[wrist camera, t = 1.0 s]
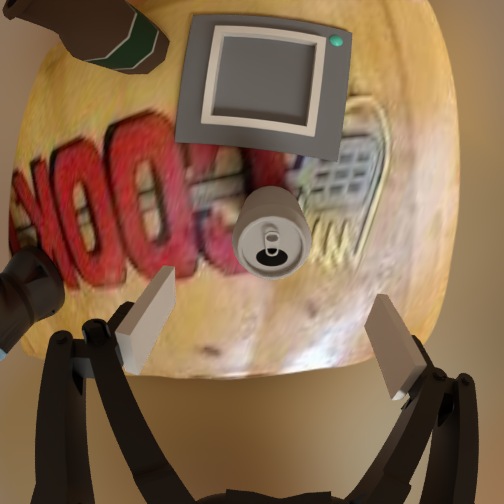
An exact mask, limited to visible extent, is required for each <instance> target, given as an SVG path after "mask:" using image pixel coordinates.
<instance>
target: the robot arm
mask: <svg viewBox="0 0 504 504" xmlns="http://www.w3.org/2000/svg"><path fill="white" fill-rule="evenodd" d="M64 300H65V292H64V287H63V283H62V280H61V277H60V275H59V273H58V271H57V269H56V267H55V266H54V264H53V263H52V261H51V260H50V259H49V258H48V256H47V255H46V254H45V253H44V252H43V251H41V250H40V249H39V248H37V247H35V246H31V245H27V246H24V247H22V248H21V249H19V250H18V251H17V252H16V253H15V254H14V255H13V257H12V258H11V260H10V261H9V263H8V264H7V266H6V267H5V269H4V270H3V272H2V273H0V361H1V360H2V359H3V358H4V357H6V356H7V353H8V352H9V351H10V350H11V349H12V347H13V346H14V345H15V344H16V343H17V342H18V341H19V339H20V338H21V337H22V336H23V335H24V334H25V333H26V332H27V331H28V329H29V328H30V327H31V326H32V325H33V324H34V323H36V322H38V321H40V320H43V319H45V318H47V317H50V316H52V315H54V314H55V313H57V311H58V310H59V309H60V308H61V307H62V306H63V304H64ZM175 303H176V299H175V267H171V266H165V265H163V267H162V268H161V269H160V270H159V272H158V273H157V274H156V276H155V277H154V278H153V280H152V281H151V282H150V284H149V285H148V286H147V288H146V289H145V290H144V292H143V293H142V294H141V296H140V297H139V298H138V300H137V301H136V303H133V302H129V301H127V302H125V303H124V304H122V305H120V307H119V308H118V309H117V310H116V312H115V313H114V314H113V316H112V317H111V318H110V320H109V321H108V322H107V323H106V321H104V320H102V319H98V318H97V319H91V320H88V321H87V322H85V323H84V324H83V326H82V333H83V336H84V339H73V336H72V334H71V333H70V332H68V331H65V330H61V331H57V332H55V333H54V334H53V335H52V336H51V338H50V340H49V344H48V349H47V353H46V358H45V363H44V368H43V374H42V380H41V386H40V394H39V401H38V410H37V421H36V438H35V473H36V485H35V488H34V492H33V495H32V499H31V503H30V504H95V500H94V493H93V487H92V480H91V474H90V466H89V456H88V445H87V430H86V378H95V380H96V384H97V387H98V390H99V394H100V397H101V400H102V403H103V406H104V409H105V411H106V414H107V417H108V419H109V422H110V425H111V427H112V430H113V432H114V435H115V437H116V440H117V442H118V444H119V447H120V449H121V451H122V453H123V455H124V458H125V460H126V462H127V464H128V466H129V468H130V470H131V472H132V474H133V478H134V481H135V483H136V485H137V487H138V489H139V490H140V492H141V494H142V496H143V497H144V499H145V501H146V502H147V504H403V503H404V501H405V500H406V498H407V496H408V494H409V492H410V490H411V485H410V484H409V482H410V480H411V478H412V476H413V474H414V471H415V469H416V467H417V465H418V463H419V461H420V459H421V456H422V454H423V452H424V450H425V447H426V445H427V442H428V440H429V437H430V435H431V432H432V440H431V448H430V454H429V461H428V467H427V472H426V477H425V482H424V486H423V491H422V495H421V499H420V502H419V504H475V503H474V501H475V493H476V485H477V473H478V454H479V434H478V433H479V432H478V412H477V400H476V391H475V383H474V380H473V379H472V377H471V376H470V375H468V374H466V373H461V374H459V376H458V377H457V378H456V379H453V378H448V377H447V375H446V373H445V372H444V371H443V370H442V369H440V368H436V367H434V365H433V363H432V361H431V360H430V358H429V356H428V354H427V353H426V351H425V349H424V348H423V345H422V343H421V342H420V340H419V339H418V338H417V337H416V336H415V335H411V334H410V332H409V331H408V329H407V327H406V325H405V324H404V322H403V320H402V319H401V317H400V315H399V313H398V312H397V310H396V308H395V307H394V305H393V303H392V302H391V300H390V299H389V297H388V295H385V294H377V296H376V299H375V301H374V304H373V307H372V309H371V312H370V314H369V316H368V319H367V321H366V324H365V326H364V327H365V330H366V332H367V334H368V337H369V340H370V342H371V345H372V347H373V350H374V352H375V355H376V358H377V360H378V363H379V366H380V369H381V371H382V374H383V377H384V379H385V382H386V385H387V388H388V391H389V394H390V397H391V400H399V399H403V398H404V397H405V395H406V394H407V393H409V396H410V398H409V399H408V400H407V402H406V403H405V404H404V405H403V407H402V408H401V409H403V410H402V412H401V414H400V416H399V418H398V420H397V422H396V424H395V426H394V428H393V429H392V431H391V433H390V435H389V437H388V438H387V440H386V442H385V443H384V445H383V447H382V449H381V450H380V452H379V453H378V455H377V457H376V458H375V460H374V461H373V463H372V465H371V466H370V467H369V469H368V470H367V472H366V473H365V475H364V476H363V478H362V479H361V480H360V482H359V483H358V485H357V486H356V487H355V489H354V490H353V491H352V492H351V493H350V494H349V495H348V496H347V497H346V498H345V499H344V500H343V499H340V498H337V497H333V496H331V491H329V492H316V493H304V494H300V495H296V496H292V497H288V498H283V499H279V498H274V497H270V496H266V495H263V494H259V493H255V492H249V491H238V490H230V489H227V490H226V493H220V494H214V495H210V496H207V497H204V498H201V499H199V500H198V501H195V500H194V498H193V497H192V496H191V494H190V493H189V492H188V490H187V489H186V487H185V486H184V484H183V483H182V481H181V480H180V478H179V477H178V475H177V474H176V472H175V471H174V469H173V468H172V466H171V465H170V464H169V462H168V461H167V459H166V458H165V456H164V454H163V453H162V451H161V449H160V448H159V446H158V444H157V442H156V440H155V438H154V437H153V435H152V433H151V431H150V429H149V427H148V425H147V423H146V421H145V419H144V417H143V415H142V413H141V411H140V409H139V407H138V405H137V402H136V400H135V398H134V396H133V394H132V391H131V389H130V387H129V384H128V382H127V379H126V377H125V375H124V372H123V370H122V366H123V364H124V368H125V371H126V372H129V373H132V374H136V375H139V374H140V372H141V370H142V368H143V366H144V364H145V362H146V360H147V358H148V356H149V354H150V352H151V350H152V348H153V346H154V344H155V342H156V340H157V338H158V336H159V334H160V332H161V330H162V328H163V326H164V324H165V322H166V321H167V319H168V317H169V315H170V313H171V311H172V309H173V307H174V305H175ZM432 429H433V431H432Z"/></svg>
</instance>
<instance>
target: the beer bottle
mask: <svg viewBox="0 0 504 504" xmlns="http://www.w3.org/2000/svg"><path fill="white" fill-rule="evenodd" d="M3 13H4V16H5V17H7V18H8V19H9V20H11V19H13V18H15V17H17V18H20V19H23V20H26V21H29V22H32V23H34V24H37V25H40V26H43V27H45V28H47V29H50V30H52V31H54V32H56V33H57V34H59V37H60V39H61V40H62V42H63V44H64V46H65V47H66V49H67V50H68V51H69V52H70V54H71V55H72V56H73V57H75V58H77V59H80V60H82V61H86V62H89V63H93V64H96V65H99V66H103V67H106V68H109V69H112V70H115V71H118V72H121V73H125V74H148V73H149V72H151V71H152V70H153V69H154V68H155V67H157V66H158V65H159V64H160V63H162V62H163V61H164V60H165V57H166V53H167V49H168V46H169V42H170V41H169V40H168V39H167V37H166V36H165V35H164V34H163V33H162V32H161V30H160V29H159V28H158V27H157V26H156V25H155V24H154V23H153V22H152V21H150V20H149V19H148V18H147V17H146V16H144V15H143V14H142V13H141V12H139V11H138V10H137V9H136V8H134V7H133V6H132V5H130V4H129V3H128V2H127V1H125V0H7V1H6V3H5V5H4V7H3Z"/></svg>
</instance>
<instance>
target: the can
mask: <svg viewBox="0 0 504 504" xmlns="http://www.w3.org/2000/svg"><path fill="white" fill-rule="evenodd" d="M232 245H233V250H234V254H235V256H236V258H237V259H238V261H239V263H240V264H241V265H242V266H243V267H244V268H246V269H247V270H248V271H249V272H250V273H251V274H253V275H255V276H257V277H259V278H262V279H269V280H275V279H282V278H284V277H287V276H289V275H291V274H293V273H294V272H295V271H296V270H297V269H299V268H300V267H301V266H302V265H303V264H304V262H305V260H306V259H307V257H308V256H309V253H310V249H311V245H312V239H311V231H310V229H309V226H308V224H307V222H306V219H305V217H304V215H303V212H302V210H301V208H300V206H299V204H298V201H297V199H296V198H295V197H294V196H293V195H292V194H291V193H290V192H289V191H287V190H285V189H283V188H281V187H276V186H266V187H261V188H259V189H257V190H255V191H253V192H252V193H251V194H250V195H249V196H248V197H247V199H246V201H245V202H244V204H243V207H242V209H241V212H240V215H239V217H238V220H237V223H236V225H235V228H234V231H233V238H232Z"/></svg>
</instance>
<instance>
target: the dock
mask: <svg viewBox="0 0 504 504" xmlns="http://www.w3.org/2000/svg"><path fill="white" fill-rule="evenodd" d="M351 45H352V33H351V32H348V31H344V30H340V29H336V28H332V27H327V26H323V25H318V24H313V23H308V22H302V21H296V20H289V19H282V18H273V17H263V16H250V15H193V20H192V25H191V29H190V34H189V40H188V45H187V51H186V56H185V62H184V69H183V75H182V82H181V89H180V97H179V105H178V114H177V123H176V133H175V142H182V143H200V144H214V145H226V146H236V147H245V148H254V149H262V150H270V151H277V152H284V153H290V154H296V155H302V156H308V157H314V158H319V159H324V160H330V161H335V162H337V160H338V154H339V148H340V142H341V135H342V128H343V121H344V113H345V106H346V97H347V89H348V79H349V69H350V58H351Z"/></svg>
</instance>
